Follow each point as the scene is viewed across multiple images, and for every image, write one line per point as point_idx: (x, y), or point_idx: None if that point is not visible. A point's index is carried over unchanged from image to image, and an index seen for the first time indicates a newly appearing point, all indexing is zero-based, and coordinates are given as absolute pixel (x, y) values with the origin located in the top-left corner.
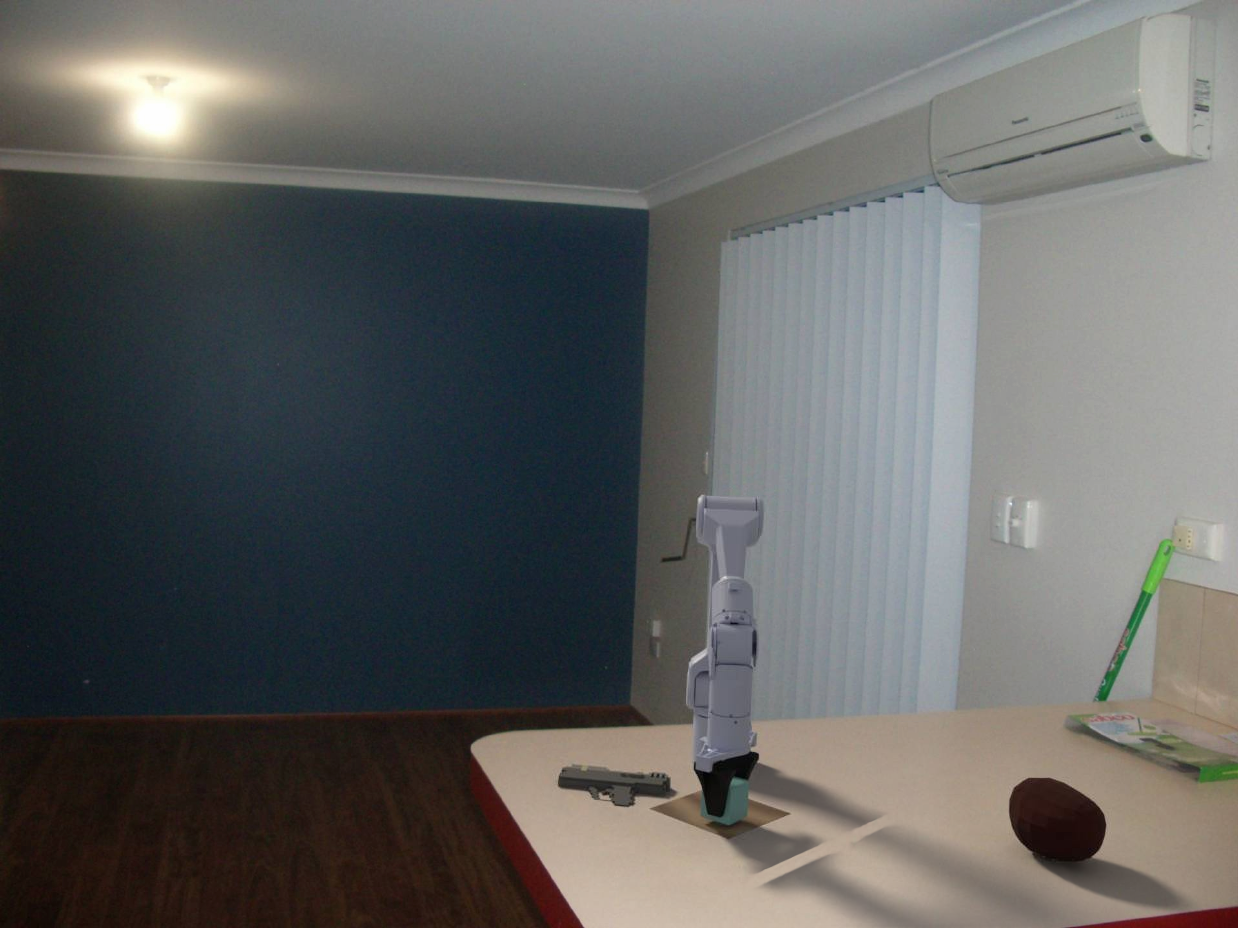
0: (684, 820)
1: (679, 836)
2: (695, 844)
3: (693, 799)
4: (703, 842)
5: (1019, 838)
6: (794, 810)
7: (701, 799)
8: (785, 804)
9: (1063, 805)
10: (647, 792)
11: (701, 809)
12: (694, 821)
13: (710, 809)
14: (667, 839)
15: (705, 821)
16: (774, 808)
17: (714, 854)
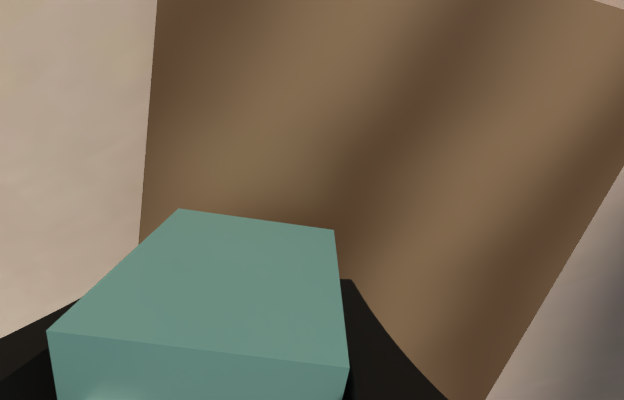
0: (161, 131)
1: (84, 153)
2: (71, 233)
3: (445, 36)
4: (108, 247)
5: None
6: (568, 370)
7: (136, 247)
8: (618, 333)
9: None
10: None
11: (165, 224)
12: (183, 173)
13: None
14: (22, 128)
15: (214, 211)
16: (503, 357)
17: (55, 310)
